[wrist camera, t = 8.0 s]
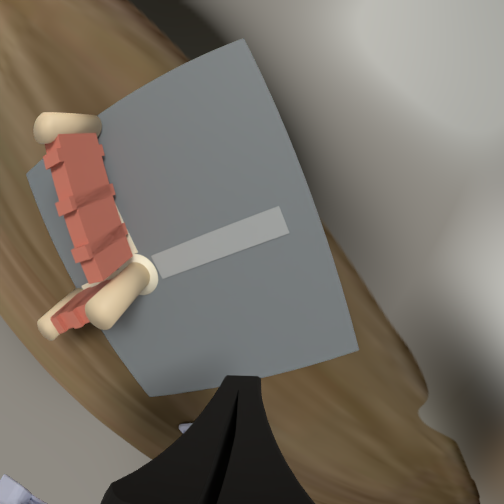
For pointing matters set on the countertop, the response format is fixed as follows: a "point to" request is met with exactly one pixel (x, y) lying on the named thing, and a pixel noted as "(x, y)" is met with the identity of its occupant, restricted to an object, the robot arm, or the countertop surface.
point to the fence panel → (84, 191)
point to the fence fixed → (96, 303)
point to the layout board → (212, 232)
